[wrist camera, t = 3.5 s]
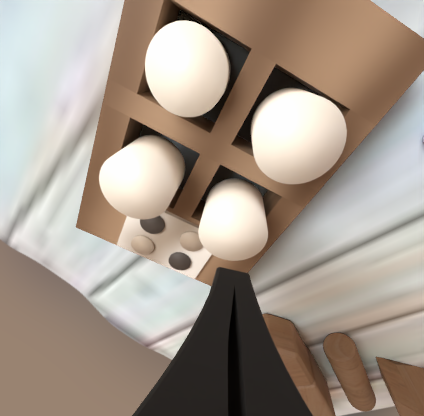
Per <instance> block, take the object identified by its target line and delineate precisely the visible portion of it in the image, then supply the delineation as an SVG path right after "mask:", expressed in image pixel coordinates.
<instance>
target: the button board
mask: <svg viewBox="0 0 424 416" xmlns="http://www.w3.org/2000/svg"><path fill="white" fill-rule="evenodd" d="M180 9H181V10H183V11H184V12H186V13H188V14H189V15H191V16H193V17H194V18H196V19H197V20H199V21H201V22H202V23H204V24H206V25H207V26H209V27H210V28H212V29H214V30H215V31H217V32H219V33H220V34H222V35H223V36H225V37H227V38H228V39H230V40H232V41H233V42H235V43H237V44H238V45H240V46H241V47H243V48H245V49H246V50H248V51H250V53H249V55H248V57H247V59H246V61H245V63H244V65H243V67H242V69H241V71H240V73H239V76H238V78H237V80H236V82H235V84H234V86H233V88H232V90H231V92H230V94H229V96H228V98H227V100H226V102H225V104H224V106H223V108H222V110H221V112H220V114H219V116H218V119H217V121H216V123H214V122H213V121H211V120H209V119H207V118H205V117H204V116H202V115H200V116H196V117H181V116H178V115H175V114H173V113H171V112H169V111H167V110H166V109H165V108H163V107H162V106H161V105H160V104H159V103H158V101H157V100H156V99H155V97H154V96H153V94H152V92H151V90H150V88H149V86H148V83H147V79H146V73H145V59H146V54H147V50H148V47H149V44H150V42H151V40H152V39H153V37H154V36H155V34H156V33H157V32H158V31H159V30H160V29H162V28H163V27H164V26H166V25H168V24H170V23H172V22H175V21H176V20H177V17H178V14H179V11H180ZM274 67H276V68H277V69H279V70H280V71H282V72H284V73H285V74H287V75H289V76H290V77H292V78H294V79H295V80H297V81H298V82H300V83H302V84H303V85H305V86H307V87H308V88H310V89H311V90H313V91H315V92H316V93H318V94H320V95H321V96H323V97H324V98H326V99H328V100H329V101H331V102H332V103H333V104H335V105H336V106H337V107H338V109H339V110H340V111H341V113H342V115H343V117H344V119H345V123H346V129H347V137H346V143H345V146H344V149H343V151H342V154H341V155H340V157H339V159H338V160H337V162H336V163H335V164H334V165H333V166H332V167H331V168H330V169H329V170H328V171H327V172H326V173H324V174H323V175H322V176H320V177H318V178H316V179H314V180H312V181H309V182H306V183H301V184H284V183H280V182H277V181H275V180H272V179H271V178H269V177H268V176H266V175H265V174H264V173H263V172H262V171H261V170H260V168H259V167H258V165H257V163H256V161H255V158H254V154H253V146H252V143H251V142H249V141H247V140H245V139H244V138H242V137H240V136H238V135H237V133H238V131H239V130H240V128H241V126H242V124H243V122H244V121H245V119H246V117H247V115H248V113H249V112H250V110H251V108H252V106H253V104H254V103H255V101H256V99H257V97H258V95H259V93H260V92H261V90H262V88H263V86H264V84H265V83H266V81H267V79H268V77H269V75H270V74H271V72H272V70H273V68H274ZM423 71H424V38H422V37H421V36H419V35H418V34H417V33H415V32H414V31H412V30H411V29H410V28H408V27H407V26H405V25H404V24H403V23H401V22H400V21H398V20H397V19H396V18H394V17H393V16H391V15H390V14H388V13H387V12H386V11H384V10H383V9H381V8H380V7H379V6H377V5H376V4H374V3H373V2H372V1H370V0H125V1H124V6H123V11H122V15H121V20H120V24H119V29H118V34H117V38H116V43H115V48H114V52H113V57H112V62H111V66H110V71H109V76H108V80H107V85H106V89H105V94H104V99H103V103H102V108H101V113H100V117H99V122H98V127H97V131H96V136H95V141H94V145H93V150H92V155H91V159H90V164H89V168H88V173H87V178H86V182H85V187H84V192H83V196H82V201H81V206H80V210H79V215H78V220H77V224H76V228H79V229H81V230H83V231H86V232H88V233H90V234H93V235H95V236H97V237H100V238H102V239H104V240H106V241H109V242H111V243H113V244H116V245H117V246H120V247H122V248H124V249H126V250H129V251H131V252H133V253H136V254H138V255H140V256H143V257H145V258H147V259H149V260H152V261H154V262H156V263H159V264H161V265H163V266H166V267H168V268H170V269H172V270H175V271H177V272H179V273H182V274H184V275H186V276H189V277H191V278H193V279H196V280H198V281H201V282H203V283H205V284H208V285H210V286H212V283H213V279H214V276H215V272H216V269H217V268H218V267H222V268H227V269H231V270H236V271H240V272H245V273H248V272H249V271H250V270H251V268H252V267H253V266H254V265H255V264H256V263H257V262H258V260H259V259H260V258H261V257H262V256H263V255H264V254H265V252H266V251H267V250H268V249H269V248H270V247H271V245H272V244H273V243H274V242H275V241H276V240H277V239H278V237H279V236H280V235H281V234H282V233H283V232H284V230H285V229H286V228H287V227H288V226H289V225H290V224H291V222H292V221H293V220H294V219H295V218H296V217H297V216H298V214H299V213H300V212H301V211H302V210H303V209H304V207H305V206H306V205H307V204H308V203H309V202H310V201H311V199H312V198H313V197H314V196H315V195H316V194H317V193H318V191H319V190H320V189H321V188H322V187H323V186H324V184H325V183H326V182H327V181H328V180H329V179H330V178H331V176H332V175H333V174H334V173H335V172H336V171H337V169H338V168H339V167H340V166H341V165H342V164H343V163H344V161H345V160H346V159H347V158H348V157H349V156H350V155H351V153H352V152H353V151H354V150H355V149H356V148H357V146H358V145H359V144H360V143H361V142H362V141H363V140H364V138H365V137H366V136H367V135H368V134H369V133H370V132H371V130H372V129H373V128H374V127H375V126H376V125H377V123H378V122H379V121H380V120H381V119H382V118H383V117H384V115H385V114H386V113H387V112H388V111H389V110H390V109H391V107H392V106H393V105H394V104H395V103H396V102H397V100H398V99H399V98H400V97H401V96H402V95H403V94H404V92H405V91H406V90H407V89H408V88H409V87H410V85H411V84H412V83H413V82H414V81H415V80H416V79H417V77H418V76H419V75H420V74H421V73H422V72H423ZM143 124H144V125H146V126H148V127H150V128H152V129H154V130H155V131H157V132H159V133H161V134H163V135H165V136H167V137H169V138H171V139H173V140H175V141H176V142H178V143H180V144H182V145H184V146H186V147H188V148H190V149H192V150H194V151H196V152H198V153H199V154H200V155H199V157H198V159H197V161H196V164H195V166H194V168H193V170H192V172H191V174H190V176H189V178H188V180H187V182H186V184H185V186H184V188H183V190H181V189H179V188H178V189H177V191H176V193H175V195H174V197H173V199H172V200H171V202H170V204H169V206H168V208H167V209H166V210H165V211H164V212H163V213H162V214H161V215H159V216H157V217H155V218H152V219H135V218H131V217H129V216H126V215H124V214H122V213H120V212H119V211H117V210H116V209H115V208H114V207H113V206H112V205H111V204H110V203H109V202H108V201H107V200H106V198H105V197H104V195H103V193H102V190H101V187H100V183H99V174H100V170H101V167H102V165H103V164H104V162H105V161H106V160H107V159H108V158H110V157H111V156H113V155H114V154H115V153H117V152H118V151H120V150H121V149H123V148H124V147H126V146H127V145H129V144H130V143H132V142H133V141H135V140H136V139H138V138H139V135H140V132H141V129H142V126H143ZM220 164H221V165H222V166H224V167H226V168H228V169H230V170H232V171H234V172H236V173H238V174H240V175H242V176H243V177H245V178H247V179H249V180H251V181H253V182H255V183H257V184H259V185H261V186H263V187H265V188H266V189H268V191H267V192H266V194H265V195H264V196H263V202H264V209H265V216H266V222H267V229H268V239H267V242H266V244H265V246H264V248H263V249H262V250H261V251H260V252H259V253H258V254H256V255H255V256H253V257H251V258H248V259H245V260H239V261H230V260H224V259H221V258H218V257H216V256H214V255H212V254H211V253H209V252H208V251H207V250H206V249H205V248H204V246H203V245H202V243H201V241H200V239H199V234H198V230H199V225H200V221H201V218H202V214H203V210H204V207H205V203H206V201H204V200H202V199H201V198H202V196H203V195H204V193H205V191H206V189H207V187H208V186H209V184H210V182H211V180H212V178H213V177H214V175H215V173H216V171H217V169H218V167H219V166H220Z"/></svg>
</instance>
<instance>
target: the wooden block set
mask: <svg viewBox="0 0 424 416" xmlns="http://www.w3.org/2000/svg"><path fill="white" fill-rule="evenodd" d="M262 315H263V318H264V320H265V323H266V325H267V328H268V330H269V332H270V335H271V337H272V339H273V341H274V344H275V346H276V348H277V350H278V352H279V354H280V357H281V359H282V361H283V363H284V365H285V367H286V369H287V370H288V372H289V374H290V376H291V378H292V380H293V382H294V384H295V386H296V387H297V389H298V391H299V393H300V394H301V396H302V398H303V400H304V402H305V403H306V405H307V407H308V408H309V410H310V412H311V413H312V415H313V416H336V415H335V412H334V408H333V404H332V400H331V396H330V393H329V389H328V385H327V382H326V380H325V378H324V376H323V374H322V372H321V371H320V369H319V367H318V365H317V363H316V361H315V359H314V358H313V356H312V354H311V352H310V350H309V349H308V348H307V347H305V345H304V343H303V341H302V339H301V338H300V336H299V334H298V332H297V330H296V328H295V327H294V325H293V323H292V322H290V321H289V320H287V319H283V318H280V317H277V316H273V315H270V314H267V313H266V314H262ZM323 349H324V352H325V354H326V356H327V358H328V360H329V362H330V364H331V366H332V368H333V370H334V372H335V374H336V376H337V378H338V380H339V382H340V384H341V386H342V388H343V390H344V392H345V394H346V396H347V398H348V400H349V402H350V403H351V405H352V406H353V407H355V408H356V409H358V410H360V411H370V410H372V409H373V408H374V406H375V404H376V398H375V395H374V392H373V389H372V387H371V384H370V382H369V379H368V376H367V374H366V371H365V368H364V366H363V363H362V361H361V358H360V355H359V353H358V350H357V348H356V345H355V343H354V342H353V340H352V339H351V338H350V337H348V336H347V335H345V334H342V333H332V334H330V335H328V336H327V337H326V338H325V340H324V343H323ZM376 360H377V363H378V366H379V369H380V372H381V375H382V377H383V380H384V382H385V384H386V386H387V388H388V391H389V393H390V395H391V397H392V400H393V402H394V404H395V406H396V409H397V411H398V413H399V415H400V416H424V368H420V367H417V366H413V365H409V364H405V363H401V362H397V361H393V360H389V359H385V358H380V357H376Z"/></svg>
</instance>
